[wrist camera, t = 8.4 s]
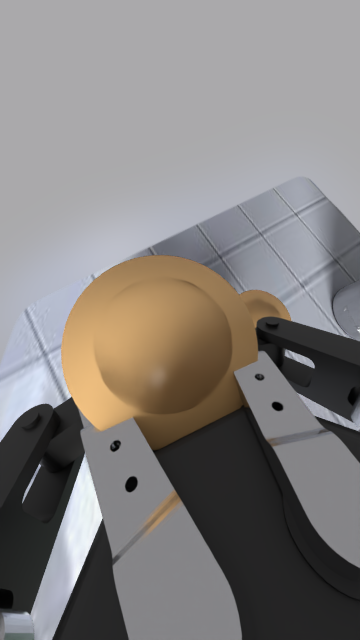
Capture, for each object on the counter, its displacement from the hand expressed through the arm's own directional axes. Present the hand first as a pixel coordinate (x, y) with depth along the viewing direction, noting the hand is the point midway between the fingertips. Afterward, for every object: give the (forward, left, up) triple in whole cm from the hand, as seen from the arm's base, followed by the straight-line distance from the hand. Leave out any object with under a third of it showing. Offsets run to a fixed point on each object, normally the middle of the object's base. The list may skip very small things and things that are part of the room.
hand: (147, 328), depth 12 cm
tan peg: (0, +2, -4) cm, 5 cm away
